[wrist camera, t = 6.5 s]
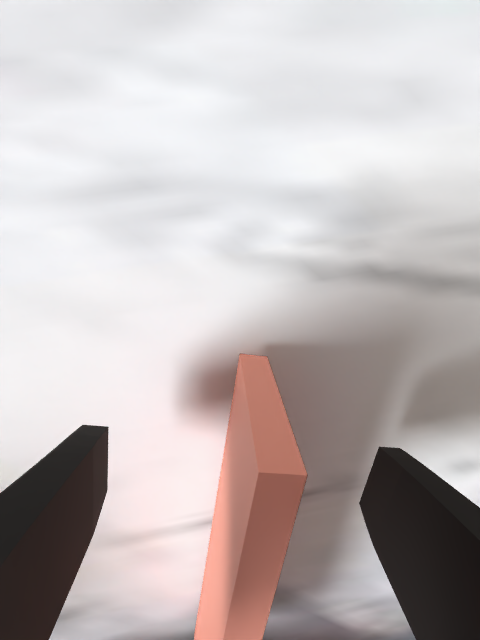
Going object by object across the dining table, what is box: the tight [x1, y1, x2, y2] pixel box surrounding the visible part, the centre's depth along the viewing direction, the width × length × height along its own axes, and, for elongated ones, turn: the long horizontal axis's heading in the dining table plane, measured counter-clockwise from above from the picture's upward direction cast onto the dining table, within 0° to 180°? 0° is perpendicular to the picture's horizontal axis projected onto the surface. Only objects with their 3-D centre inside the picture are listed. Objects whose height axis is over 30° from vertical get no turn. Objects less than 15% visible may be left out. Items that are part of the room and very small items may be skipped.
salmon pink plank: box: [194, 354, 307, 640], centre depth 9 cm, size 13×1×4 cm, turn 172°
